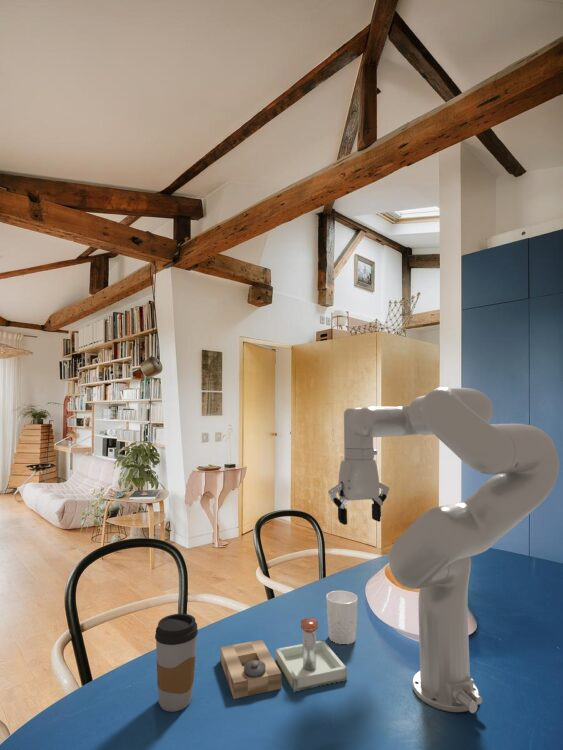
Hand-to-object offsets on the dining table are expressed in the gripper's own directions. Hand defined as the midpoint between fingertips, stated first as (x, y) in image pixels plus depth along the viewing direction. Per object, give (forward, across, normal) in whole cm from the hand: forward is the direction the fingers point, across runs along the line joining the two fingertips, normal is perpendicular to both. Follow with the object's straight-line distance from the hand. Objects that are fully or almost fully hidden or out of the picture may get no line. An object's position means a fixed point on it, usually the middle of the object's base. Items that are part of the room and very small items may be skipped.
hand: (359, 521), depth 113 cm
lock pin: (+28, +18, +9) cm, 34 cm away
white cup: (+28, +5, -1) cm, 29 cm away
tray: (+28, +18, +9) cm, 35 cm away
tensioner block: (+28, +31, +6) cm, 42 cm away
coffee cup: (+28, +47, +10) cm, 56 cm away
